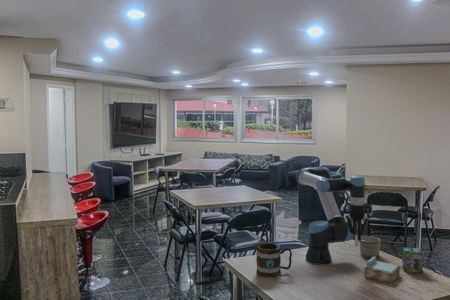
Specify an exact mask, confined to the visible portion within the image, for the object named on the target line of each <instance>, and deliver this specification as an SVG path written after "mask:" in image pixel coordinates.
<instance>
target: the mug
mask: <svg viewBox="0 0 450 300" xmlns="http://www.w3.org/2000/svg"><path fill="white" fill-rule="evenodd" d="M281 248H282V246H281V245H279V244H277V243H271V242H265V243H264V242H263V243H259V244H257V245H256V275H258V276H259V277H261V278H267V277H269V278H268V279H271V278H270V277H272V278H277V277H276V276H278V277H279V276H280V275H281V269H282V270H290V269H291V267H292V255H293V253H292V249H291V248H288V247H286V248H284V249H282V250H281ZM286 251H289V258H288V266H283V265H281V262H282V259H281V255H282V254H284V253H285V252H286ZM279 274H280V275H279Z"/></svg>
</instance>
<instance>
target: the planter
mask: <svg viewBox="0 0 450 300" xmlns="http://www.w3.org/2000/svg"><path fill="white" fill-rule="evenodd" d="M380 250H381V238H379V237H375V236H370V235H369V236H367V235H365V236H361V240H360V241H359V253H360V255H361V257H364V258H369V259H371V258H372V257H376V258H378V257H379V256H380V252H381V251H380Z"/></svg>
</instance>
